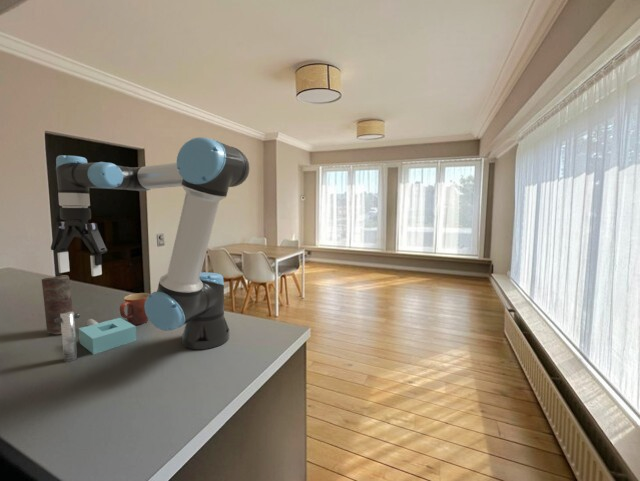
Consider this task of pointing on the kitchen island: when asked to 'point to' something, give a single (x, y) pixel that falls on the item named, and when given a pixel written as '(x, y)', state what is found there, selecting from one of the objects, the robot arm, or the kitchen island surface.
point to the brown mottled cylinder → (56, 300)
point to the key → (68, 334)
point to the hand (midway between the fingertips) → (80, 273)
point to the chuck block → (106, 334)
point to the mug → (135, 308)
